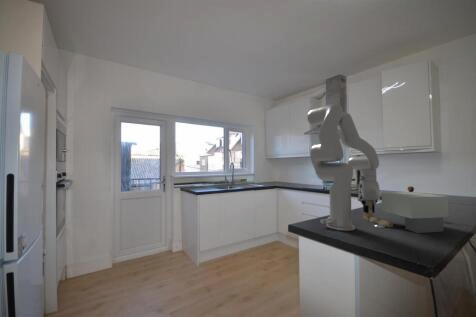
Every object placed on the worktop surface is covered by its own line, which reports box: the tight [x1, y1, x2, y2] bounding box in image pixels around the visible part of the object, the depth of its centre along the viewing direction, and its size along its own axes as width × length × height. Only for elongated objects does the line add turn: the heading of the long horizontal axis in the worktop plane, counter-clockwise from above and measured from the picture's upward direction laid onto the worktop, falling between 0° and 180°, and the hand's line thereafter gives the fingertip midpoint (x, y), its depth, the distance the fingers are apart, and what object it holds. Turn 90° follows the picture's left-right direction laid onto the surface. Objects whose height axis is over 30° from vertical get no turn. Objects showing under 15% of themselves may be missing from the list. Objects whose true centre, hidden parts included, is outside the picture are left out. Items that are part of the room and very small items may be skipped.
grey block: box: [381, 191, 449, 234], centre depth 105 cm, size 20×17×16 cm
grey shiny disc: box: [373, 223, 387, 229], centre depth 105 cm, size 5×5×1 cm
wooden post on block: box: [363, 200, 394, 228], centre depth 111 cm, size 16×3×12 cm, turn 9°
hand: (368, 212), depth 117 cm, fingers closed on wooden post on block, 3 cm apart
